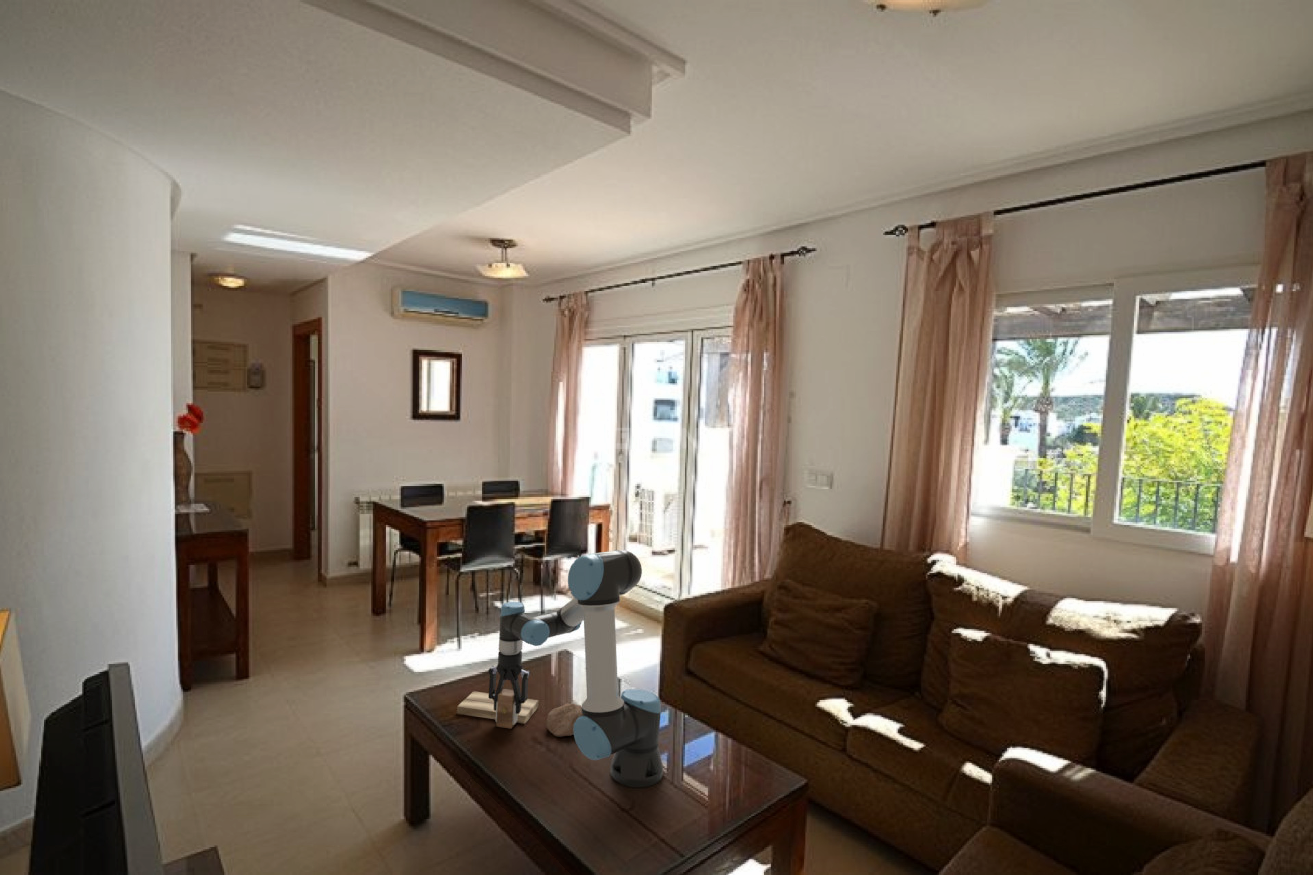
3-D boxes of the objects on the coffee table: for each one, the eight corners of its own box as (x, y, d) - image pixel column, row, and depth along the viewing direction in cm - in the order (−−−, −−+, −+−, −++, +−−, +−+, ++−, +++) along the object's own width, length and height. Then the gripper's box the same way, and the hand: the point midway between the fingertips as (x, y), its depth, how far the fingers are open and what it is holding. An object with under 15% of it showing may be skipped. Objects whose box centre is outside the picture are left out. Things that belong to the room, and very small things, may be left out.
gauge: (510, 729, 202) (512, 697, 202) (495, 727, 203) (497, 695, 202) (527, 708, 216) (529, 678, 216) (513, 706, 217) (515, 676, 217)
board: (525, 723, 207) (525, 715, 207) (457, 713, 211) (457, 706, 211) (538, 707, 218) (538, 700, 218) (473, 698, 222) (473, 691, 222)
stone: (587, 736, 206) (586, 703, 210) (583, 733, 198) (583, 699, 202) (549, 739, 205) (549, 706, 210) (544, 737, 197) (544, 703, 202)
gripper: (540, 650, 206) (537, 719, 207) (489, 643, 209) (485, 712, 210) (532, 658, 199) (528, 730, 200) (479, 651, 202) (475, 722, 203)
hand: (506, 721), depth 205 cm, fingers closed on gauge, 5 cm apart
